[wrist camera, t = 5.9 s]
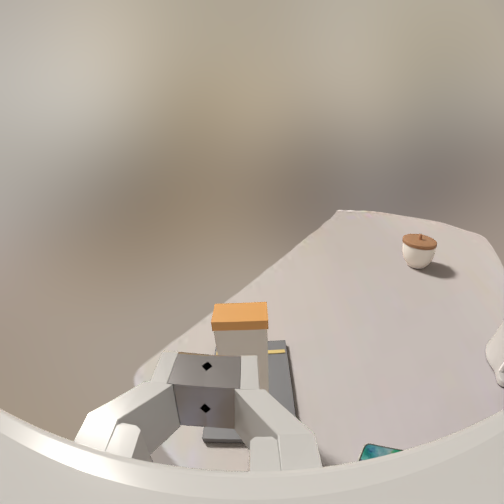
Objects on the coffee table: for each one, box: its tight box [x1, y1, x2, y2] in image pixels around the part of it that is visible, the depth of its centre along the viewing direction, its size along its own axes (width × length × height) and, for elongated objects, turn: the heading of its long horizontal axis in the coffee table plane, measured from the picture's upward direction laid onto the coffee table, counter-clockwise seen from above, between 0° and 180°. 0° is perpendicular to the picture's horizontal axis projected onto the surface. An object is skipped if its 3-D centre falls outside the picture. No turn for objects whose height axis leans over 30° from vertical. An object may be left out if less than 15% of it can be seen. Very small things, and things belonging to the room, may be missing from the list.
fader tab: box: [211, 302, 269, 393], centre depth 30 cm, size 3×5×17 cm, turn 90°
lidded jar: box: [402, 234, 437, 269], centre depth 72 cm, size 11×11×9 cm
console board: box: [202, 340, 296, 443], centre depth 39 cm, size 20×12×1 cm, turn 0°
